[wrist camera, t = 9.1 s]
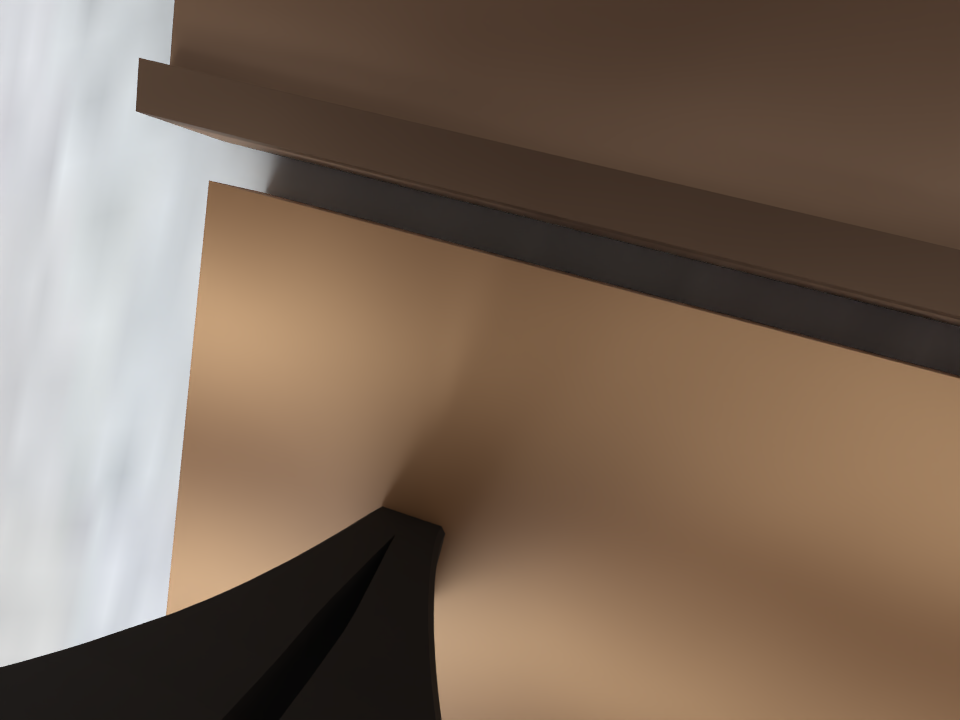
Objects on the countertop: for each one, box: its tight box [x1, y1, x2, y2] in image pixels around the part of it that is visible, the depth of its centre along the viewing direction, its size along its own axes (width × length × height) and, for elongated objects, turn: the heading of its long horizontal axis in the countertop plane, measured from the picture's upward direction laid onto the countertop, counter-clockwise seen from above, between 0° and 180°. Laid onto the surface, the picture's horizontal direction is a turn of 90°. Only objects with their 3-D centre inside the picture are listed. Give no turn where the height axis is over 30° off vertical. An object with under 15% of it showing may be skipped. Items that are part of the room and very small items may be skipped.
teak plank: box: [166, 181, 960, 720], centre depth 9 cm, size 10×26×2 cm, turn 76°
